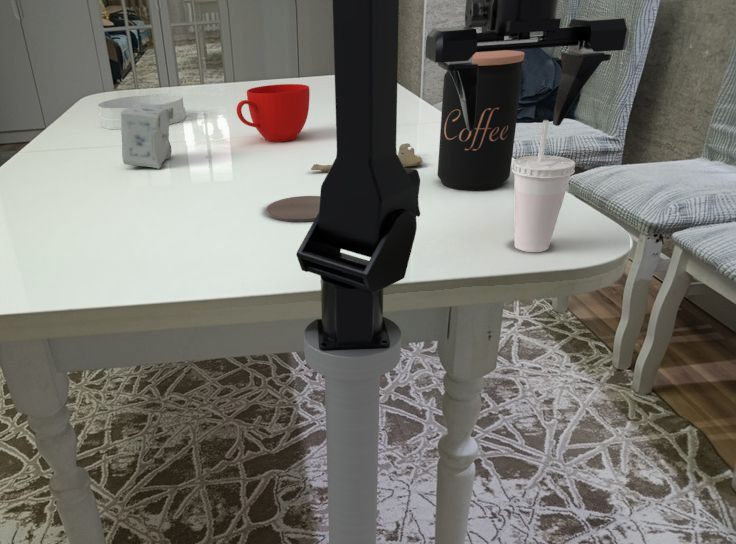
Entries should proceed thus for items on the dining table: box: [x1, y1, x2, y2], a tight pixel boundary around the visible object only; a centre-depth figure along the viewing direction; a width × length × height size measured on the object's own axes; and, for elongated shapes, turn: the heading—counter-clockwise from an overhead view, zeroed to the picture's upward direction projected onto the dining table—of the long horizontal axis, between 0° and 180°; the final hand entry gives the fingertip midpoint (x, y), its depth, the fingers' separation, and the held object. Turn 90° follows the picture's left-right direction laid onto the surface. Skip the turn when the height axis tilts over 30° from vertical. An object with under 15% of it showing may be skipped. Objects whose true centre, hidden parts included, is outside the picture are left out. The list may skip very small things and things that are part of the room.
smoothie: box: [511, 119, 576, 253], centre depth 70 cm, size 6×6×14 cm
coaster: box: [266, 195, 320, 223], centre depth 91 cm, size 11×11×1 cm
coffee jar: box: [437, 50, 525, 191], centre depth 94 cm, size 11×11×18 cm
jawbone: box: [310, 143, 423, 173], centre depth 109 cm, size 9×20×2 cm, turn 115°
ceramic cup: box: [236, 83, 311, 143], centre depth 132 cm, size 13×17×10 cm
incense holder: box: [120, 103, 173, 170], centre depth 120 cm, size 10×8×10 cm
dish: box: [97, 93, 187, 131], centre depth 165 cm, size 22×22×5 cm
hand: (512, 127), depth 69 cm, fingers open, 9 cm apart
